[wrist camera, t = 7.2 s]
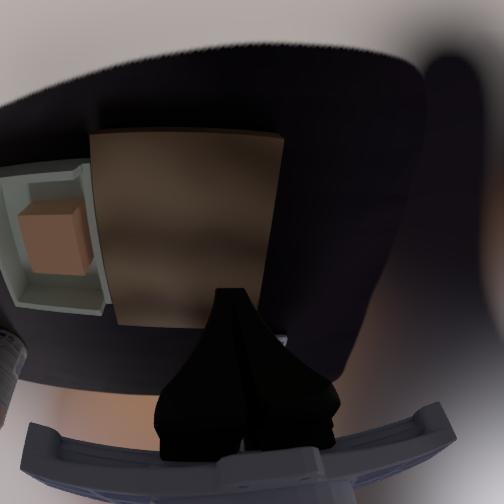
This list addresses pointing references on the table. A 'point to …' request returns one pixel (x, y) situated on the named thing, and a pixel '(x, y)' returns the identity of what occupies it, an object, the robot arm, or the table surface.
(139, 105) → the table surface
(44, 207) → the block
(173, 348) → the table surface
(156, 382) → the table surface
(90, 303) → the box
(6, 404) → the energy drink
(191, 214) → the board
